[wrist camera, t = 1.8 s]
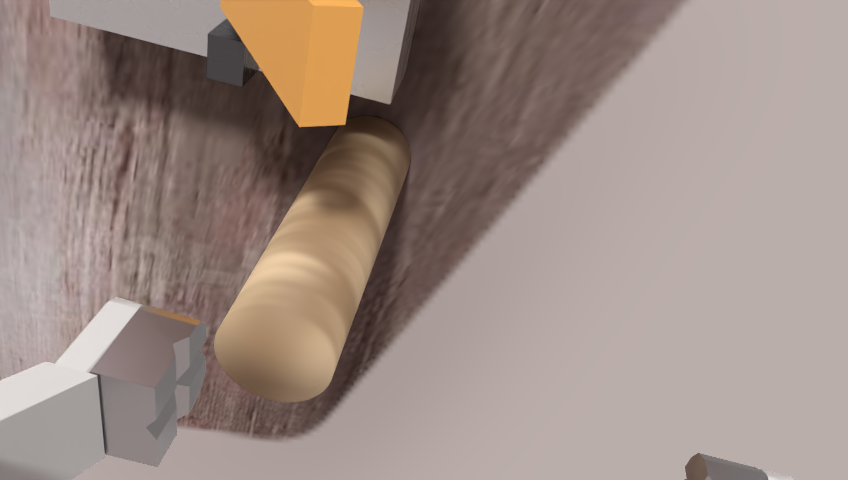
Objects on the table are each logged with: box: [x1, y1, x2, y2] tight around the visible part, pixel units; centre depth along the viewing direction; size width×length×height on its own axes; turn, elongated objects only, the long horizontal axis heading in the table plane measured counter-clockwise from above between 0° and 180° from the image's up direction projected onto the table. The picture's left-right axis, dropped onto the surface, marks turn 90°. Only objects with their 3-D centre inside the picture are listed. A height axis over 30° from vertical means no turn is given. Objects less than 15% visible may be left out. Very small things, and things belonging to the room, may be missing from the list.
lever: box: [220, 0, 364, 127], centre depth 26 cm, size 2×4×11 cm
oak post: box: [214, 116, 411, 402], centre depth 32 cm, size 4×4×16 cm
